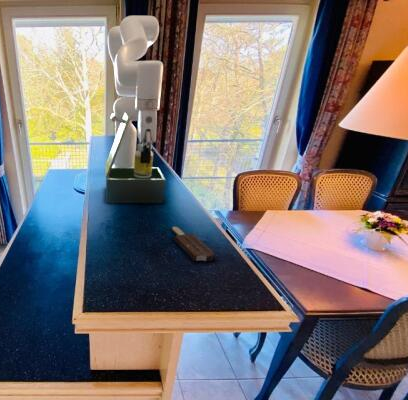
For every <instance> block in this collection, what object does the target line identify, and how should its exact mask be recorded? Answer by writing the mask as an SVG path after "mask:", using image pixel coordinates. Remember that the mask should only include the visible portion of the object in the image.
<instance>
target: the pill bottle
mask: <svg viewBox="0 0 408 400" xmlns="http://www.w3.org/2000/svg"><path fill="white" fill-rule="evenodd" d="M144 145H145V144H144ZM152 147H153V145H152V144H151V157H150V163H141V162H140V158H141V151H142V144H139V143H138V144H137V149H136V152H135V162H134V176H136V177H138V178H149V177H150V176H151V173H152V168H153V164H154V163H153V161H154V151H152V149H153V148H152Z"/></svg>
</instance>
